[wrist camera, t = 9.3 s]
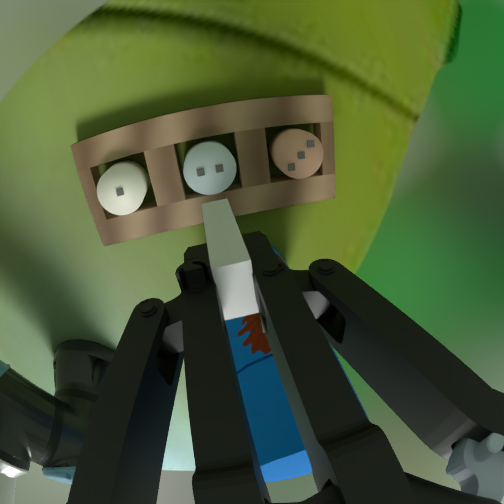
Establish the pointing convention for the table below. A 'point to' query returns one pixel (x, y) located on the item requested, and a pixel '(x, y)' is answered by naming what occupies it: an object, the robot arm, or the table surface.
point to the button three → (296, 152)
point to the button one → (123, 187)
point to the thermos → (267, 400)
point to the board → (199, 126)
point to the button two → (209, 167)
